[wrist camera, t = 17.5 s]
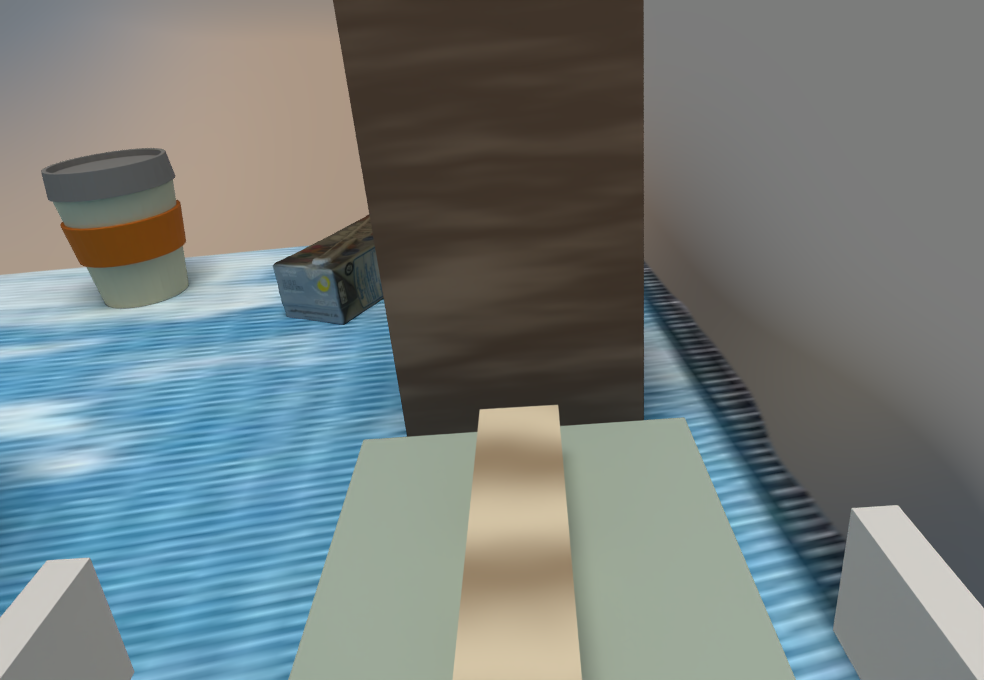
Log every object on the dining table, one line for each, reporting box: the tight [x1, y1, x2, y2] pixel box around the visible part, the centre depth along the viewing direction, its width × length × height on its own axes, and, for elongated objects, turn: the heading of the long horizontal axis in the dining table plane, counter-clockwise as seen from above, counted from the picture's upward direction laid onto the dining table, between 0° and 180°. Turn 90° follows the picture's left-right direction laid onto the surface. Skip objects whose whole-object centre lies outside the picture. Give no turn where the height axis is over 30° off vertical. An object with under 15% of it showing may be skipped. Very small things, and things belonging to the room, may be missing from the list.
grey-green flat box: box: [289, 418, 796, 680], centre depth 31 cm, size 22×18×5 cm
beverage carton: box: [273, 215, 384, 324], centre depth 76 cm, size 8×19×7 cm, turn 153°
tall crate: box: [333, 0, 644, 437], centre depth 49 cm, size 14×16×30 cm
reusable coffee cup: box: [41, 148, 188, 308], centre depth 79 cm, size 12×13×15 cm
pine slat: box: [453, 405, 582, 680], centre depth 27 cm, size 24×4×3 cm, turn 178°
